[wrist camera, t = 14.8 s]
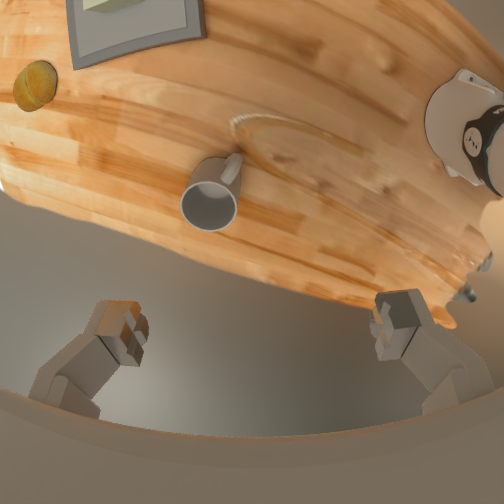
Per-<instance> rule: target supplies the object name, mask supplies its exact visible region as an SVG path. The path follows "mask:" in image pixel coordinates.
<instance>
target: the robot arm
mask: <svg viewBox="0 0 504 504" xmlns="http://www.w3.org/2000/svg"><path fill="white" fill-rule="evenodd" d="M470 77H471V80H470ZM425 129H426V135H427V139H428V142H429V144H430V146H431V148H432V149H433V151H434V152H435V153H436V155H437V156H438V157H439V158H440V159H441V160H442V161H443V164H444V167H445V170H446V172H447V174H449V175H450V176H452V177H457V176H462V177H464V178H465V179H466V180H468V181H469V182H471V183H472V184H473V185H475V186H479V185H485V186H486V187H487V188H488V189H489V190H490V191H492V192H494V193H495V194H497V195H499V196H501V197H504V93H503V92H502V91H500V90H499V89H497V88H496V87H494V86H493V85H491V84H490V83H488V82H487V81H485V80H484V79H482V78H481V77H479V76H477V75H476V74H474V73H472V72H471V71H469V70H467V69H464V68H461V69H460V70H459V71H458V72H457V73H456V75H455V76H454V78H453V79H452V80H451V81H449V82H447V83H445V84H443V85H442V86H441V87H439V88H438V89H437V90H436V91H435V93H434V94H433V96H432V97H431V99H430V101H429V104H428V107H427V110H426V116H425ZM375 303H376V306H375V307H374V308H372V310H371V314H370V329H371V333H372V335H373V336H374V337H375V338H376V339H377V341H376V344H375V347H376V351H377V355H378V359H379V361H384V360H392V359H399V358H401V360H402V362H403V363H404V364H405V365H406V366H407V367H408V368H409V369H410V370H411V371H412V372H413V374H414V375H415V376H416V377H417V378H418V379H419V380H420V381H421V382H422V383H423V385H425V387H426V388H427V389H428V390H429V391H430V392H431V394H430V395H429V397H427V398H426V400H425V401H424V402H423V403H422V405H421V407H422V412H423V415H422V416H418V417H414V418H410V419H406V420H402V421H398V422H393V423H389V424H384V425H378V426H373V427H367V428H361V429H355V430H349V431H341V432H333V433H325V434H315V435H302V436H287V437H286V436H285V437H220V436H204V435H191V434H181V433H172V432H164V431H157V430H150V429H144V428H138V427H133V426H127V425H122V424H117V423H112V422H108V421H103V420H99V415H100V411H101V410H100V408H99V407H98V406H97V405H96V404H95V403H94V402H93V401H91V399H92V398H93V397H94V396H95V394H96V393H97V392H98V391H99V390H100V389H101V388H102V386H103V385H104V384H105V383H106V382H107V381H108V380H109V378H110V377H111V376H112V375H113V374H114V372H115V371H116V370H117V369H118V368H119V367H120V365H124V366H137V367H140V364H141V360H142V357H143V353H144V351H143V348H142V345H143V344H145V343H146V342H147V339H148V335H149V325H148V321H147V319H146V317H145V316H144V315H142V314H141V313H140V311H141V307H140V305H139V303H138V302H135V301H115V300H114V301H113V300H100V301H99V302H98V303H97V304H96V306H95V308H94V311H93V313H92V315H91V317H90V319H89V322H88V324H87V326H86V328H85V331H84V333H83V334H79V335H78V336H77V337H76V338H75V339H73V340H72V341H71V342H70V343H69V344H67V345H66V346H65V347H64V348H63V349H62V350H60V351H59V352H58V353H57V354H56V355H55V356H53V357H52V358H51V359H50V360H49V361H48V362H47V363H45V364H44V365H43V366H42V367H41V368H40V369H39V370H38V373H37V375H36V378H35V380H34V383H33V385H32V388H31V390H30V393H29V396H28V397H25V396H22V395H20V394H17V393H15V392H12V391H10V390H7V389H5V388H3V387H1V386H0V504H504V387H502V388H500V389H498V390H495V388H494V386H493V382H492V380H491V377H490V374H489V372H488V369H487V367H486V364H485V362H484V360H483V359H482V358H481V357H480V356H478V355H477V354H476V353H475V352H474V351H472V350H471V349H470V348H469V347H467V346H466V345H465V344H464V343H462V342H461V341H460V340H459V339H458V338H456V337H455V336H454V335H452V334H451V333H450V332H449V331H447V330H446V329H445V328H444V327H442V326H441V325H440V324H435V322H434V320H433V318H432V316H431V313H430V311H429V309H428V307H427V305H426V303H425V301H424V299H423V296H422V294H421V292H420V290H418V289H417V288H416V289H407V290H397V291H387V292H378V293H377V295H376V297H375Z"/></svg>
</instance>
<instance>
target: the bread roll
mask: <svg viewBox="0 0 504 504" xmlns="http://www.w3.org/2000/svg"><path fill="white" fill-rule="evenodd" d="M56 81H57V75H56V72H55V70H54V68H53V67H52V66H51V65H50V64H48V63H47V62H44V61H36V62H33V63H31V64H29V65H28V66H27V67H26V68H25V69H24V70H23V71H22V72H21V73H20V74H19V75H18V77H17V79H16V80H15V83H14V89H13V94H14V98H15V101H16V103H17V105H18V106H19V108H21V109H22V110H23V111H26V112H32V111H36V110H37V109H39V108H40V107H41V106H42V105H43V104H45V103H48V102H49V101H50V100H51V99H52V98H53V96H54V94H55V88H56Z"/></svg>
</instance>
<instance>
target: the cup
mask: <svg viewBox="0 0 504 504" xmlns="http://www.w3.org/2000/svg"><path fill="white" fill-rule="evenodd" d="M242 161H243V158H242V156H241V155H240V154H239V153H233V154H232V155H230V156H229V157H228V158H227V159H225V158H220V157H212V158H208V159H205V160H204V161H202V162H201V163H200V164H199V165H198V166H197V167H196V168H195V170H194V172H193V174H192V176H191V178H190V180H189V182H188V184H187V186H186V188H185V190H184V192H183V195H182V197H181V200H180V210H181V213H182V215H183V217H184V219H185V220H186V221H187V222H188V223H189V224H190V225H191V226H193V227H194V228H197V229H199V230H202V231H207V232H215V231H219V230H222V229H224V228H226V227H228V226H229V225H230V224H231V223H232V222H233V220H234V219H235V217H236V213H237V208H238V200H239V193H240V185H241V178H240V173H239V171H240V168H241V165H242Z"/></svg>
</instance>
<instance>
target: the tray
mask: <svg viewBox="0 0 504 504" xmlns="http://www.w3.org/2000/svg"><path fill="white" fill-rule="evenodd" d="M66 10H67V22H68V32H69V41H70V49H71V56H72V63H73V70H74V71H75V70H79V69H84V68H88V67H91V66H94V65H97V64H99V63H102V62H105V61H108V60H112V59H115V58H118V57H121V56H125V55H128V54H132V53H135V52H139V51H143V50H147V49H151V48H155V47H159V46H164V45H169V44H174V43H179V42H184V41H190V40H196V39H202V38H207V36H206V27H205V16H204V6H203V0H144V2H141V3H138V4H135V5H131V6H128V7H125V8H122V9H119V10H116V11H113V12H111V13H100V12H92V11H84V9H83V0H66Z"/></svg>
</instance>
